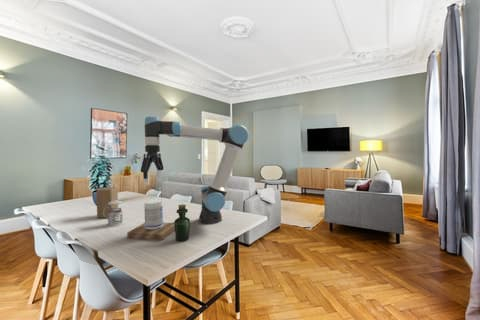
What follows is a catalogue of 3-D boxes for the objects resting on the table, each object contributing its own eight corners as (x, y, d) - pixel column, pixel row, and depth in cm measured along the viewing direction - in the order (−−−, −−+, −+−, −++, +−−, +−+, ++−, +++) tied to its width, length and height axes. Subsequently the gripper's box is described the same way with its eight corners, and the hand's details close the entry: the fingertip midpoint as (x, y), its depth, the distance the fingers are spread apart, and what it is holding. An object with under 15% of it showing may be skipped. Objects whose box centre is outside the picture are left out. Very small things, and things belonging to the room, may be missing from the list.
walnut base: (177, 228, 130) (177, 223, 130) (162, 240, 112) (162, 234, 112) (146, 226, 132) (145, 221, 132) (127, 238, 114) (127, 232, 114)
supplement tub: (164, 228, 121) (164, 202, 120) (146, 231, 115) (146, 204, 115) (160, 223, 129) (160, 199, 128) (143, 226, 123) (142, 201, 123)
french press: (126, 224, 137) (126, 185, 136) (106, 229, 128) (105, 187, 127) (121, 220, 143) (120, 183, 142) (101, 225, 135) (100, 185, 134)
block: (104, 214, 158) (103, 187, 158) (118, 214, 159) (118, 187, 158) (96, 218, 148) (95, 189, 148) (111, 218, 149) (111, 189, 148)
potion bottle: (190, 241, 110) (190, 206, 109) (174, 243, 108) (173, 207, 107) (189, 235, 118) (189, 203, 117) (174, 237, 116) (173, 204, 115)
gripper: (157, 145, 133) (157, 179, 134) (132, 144, 108) (133, 186, 109) (168, 145, 132) (169, 180, 133) (146, 144, 107) (147, 186, 108)
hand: (153, 182), depth 121 cm, fingers open, 13 cm apart
